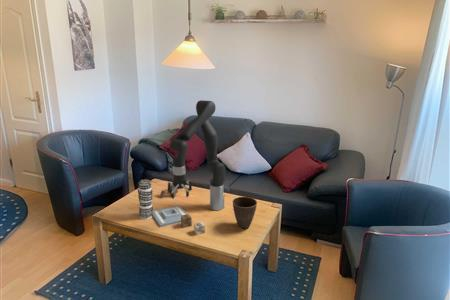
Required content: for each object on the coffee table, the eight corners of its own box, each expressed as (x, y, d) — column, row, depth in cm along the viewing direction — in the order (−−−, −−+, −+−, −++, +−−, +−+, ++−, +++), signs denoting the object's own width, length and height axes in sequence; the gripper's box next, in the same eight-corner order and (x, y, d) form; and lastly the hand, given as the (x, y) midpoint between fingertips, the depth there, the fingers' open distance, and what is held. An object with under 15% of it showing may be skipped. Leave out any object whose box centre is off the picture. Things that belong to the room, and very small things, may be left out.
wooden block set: (174, 189, 258) (173, 177, 255) (183, 190, 254) (182, 178, 251) (159, 198, 243) (158, 185, 240) (169, 200, 239) (168, 186, 236)
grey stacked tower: (135, 217, 214) (133, 181, 207) (145, 211, 222) (144, 176, 215) (146, 221, 210) (145, 184, 203) (156, 215, 218) (155, 179, 210)
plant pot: (254, 232, 199) (256, 208, 194) (230, 230, 201) (230, 206, 196) (256, 220, 213) (257, 197, 208) (233, 218, 215) (234, 195, 210)
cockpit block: (201, 229, 201) (201, 220, 200) (205, 233, 197) (205, 224, 196) (193, 231, 199) (193, 222, 198) (197, 235, 195) (197, 226, 193)
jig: (179, 207, 229) (179, 202, 228) (190, 219, 212) (190, 215, 211) (151, 213, 220) (150, 208, 219) (160, 226, 203) (160, 222, 202)
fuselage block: (188, 222, 209) (188, 213, 207) (191, 226, 205) (191, 217, 203) (181, 224, 207) (180, 215, 205) (184, 228, 202) (183, 219, 201)
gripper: (190, 169, 202) (190, 193, 207) (166, 171, 198) (167, 196, 203) (192, 173, 195) (192, 198, 200) (167, 175, 191) (169, 201, 196)
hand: (180, 197), depth 201 cm, fingers open, 8 cm apart
